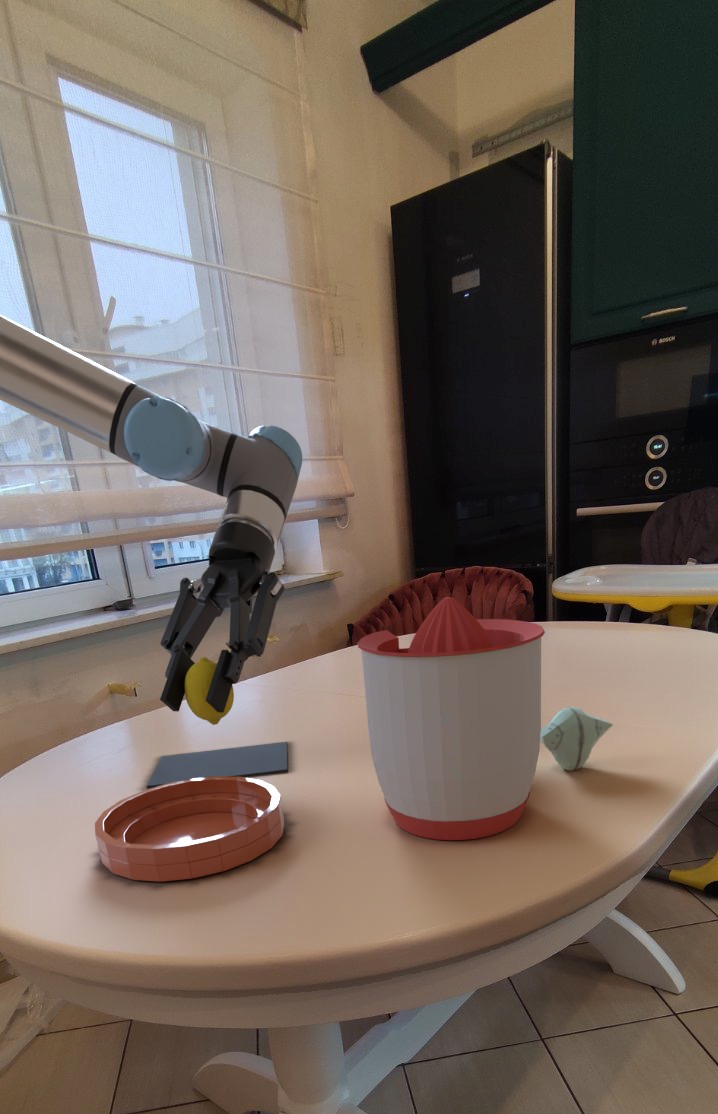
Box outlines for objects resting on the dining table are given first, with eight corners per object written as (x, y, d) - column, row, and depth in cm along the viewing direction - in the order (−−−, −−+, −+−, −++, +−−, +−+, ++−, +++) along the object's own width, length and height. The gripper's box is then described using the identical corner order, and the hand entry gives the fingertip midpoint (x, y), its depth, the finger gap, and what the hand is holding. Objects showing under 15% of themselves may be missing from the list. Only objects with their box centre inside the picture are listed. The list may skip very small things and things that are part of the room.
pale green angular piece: (545, 783, 73) (545, 718, 71) (526, 770, 77) (526, 709, 74) (615, 769, 75) (618, 706, 72) (593, 758, 79) (595, 697, 76)
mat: (147, 791, 82) (146, 786, 82) (162, 760, 92) (161, 756, 92) (288, 774, 83) (287, 769, 83) (287, 746, 93) (286, 741, 93)
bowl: (65, 863, 66) (56, 828, 64) (198, 798, 78) (192, 768, 77) (192, 903, 57) (184, 864, 55) (320, 823, 69) (315, 789, 68)
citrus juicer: (480, 771, 78) (475, 579, 71) (579, 829, 63) (585, 591, 55) (344, 801, 74) (323, 599, 66) (415, 871, 58) (397, 618, 51)
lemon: (241, 726, 84) (230, 657, 81) (193, 734, 83) (180, 665, 80) (235, 715, 89) (224, 650, 86) (189, 722, 87) (177, 657, 84)
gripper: (325, 556, 88) (277, 724, 81) (200, 565, 96) (146, 720, 88) (300, 511, 82) (245, 689, 74) (168, 524, 89) (106, 688, 82)
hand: (191, 705), depth 81 cm, fingers closed on lemon, 5 cm apart
